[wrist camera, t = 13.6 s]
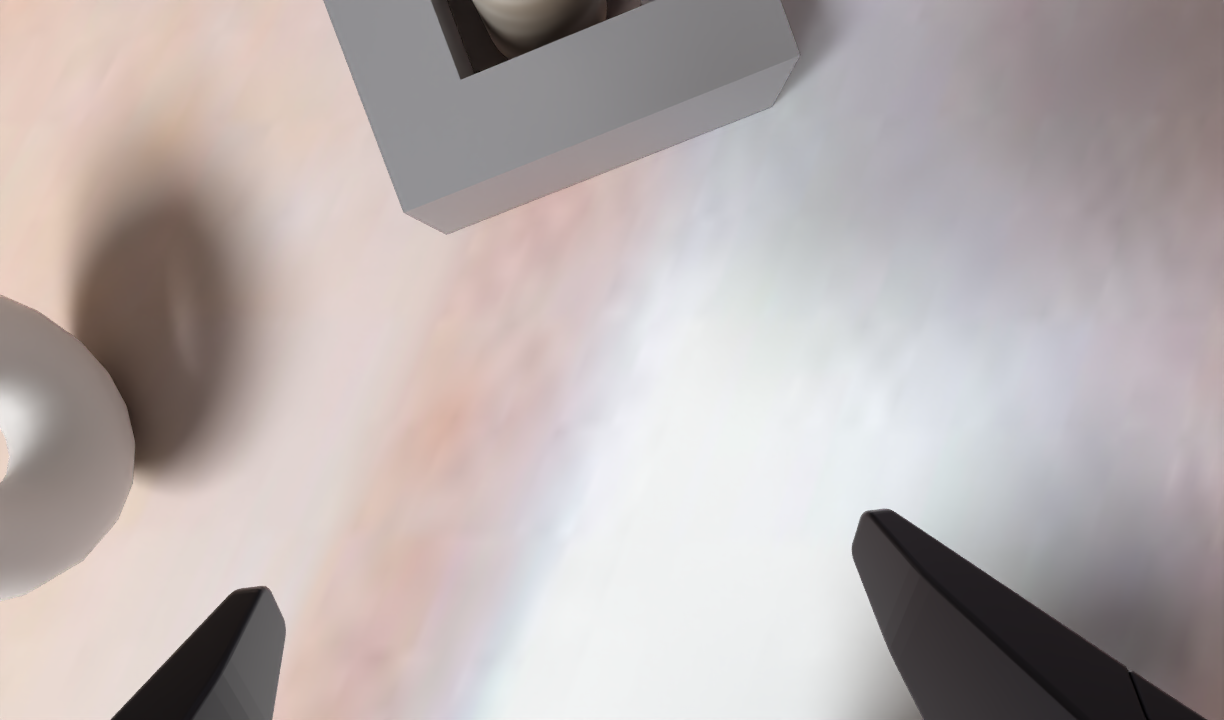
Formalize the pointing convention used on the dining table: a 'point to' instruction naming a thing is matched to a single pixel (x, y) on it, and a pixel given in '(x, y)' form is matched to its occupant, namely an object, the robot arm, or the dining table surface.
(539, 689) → the dining table surface
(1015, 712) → the robot arm
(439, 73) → the socket
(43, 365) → the donut
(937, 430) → the dining table surface
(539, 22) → the peg
